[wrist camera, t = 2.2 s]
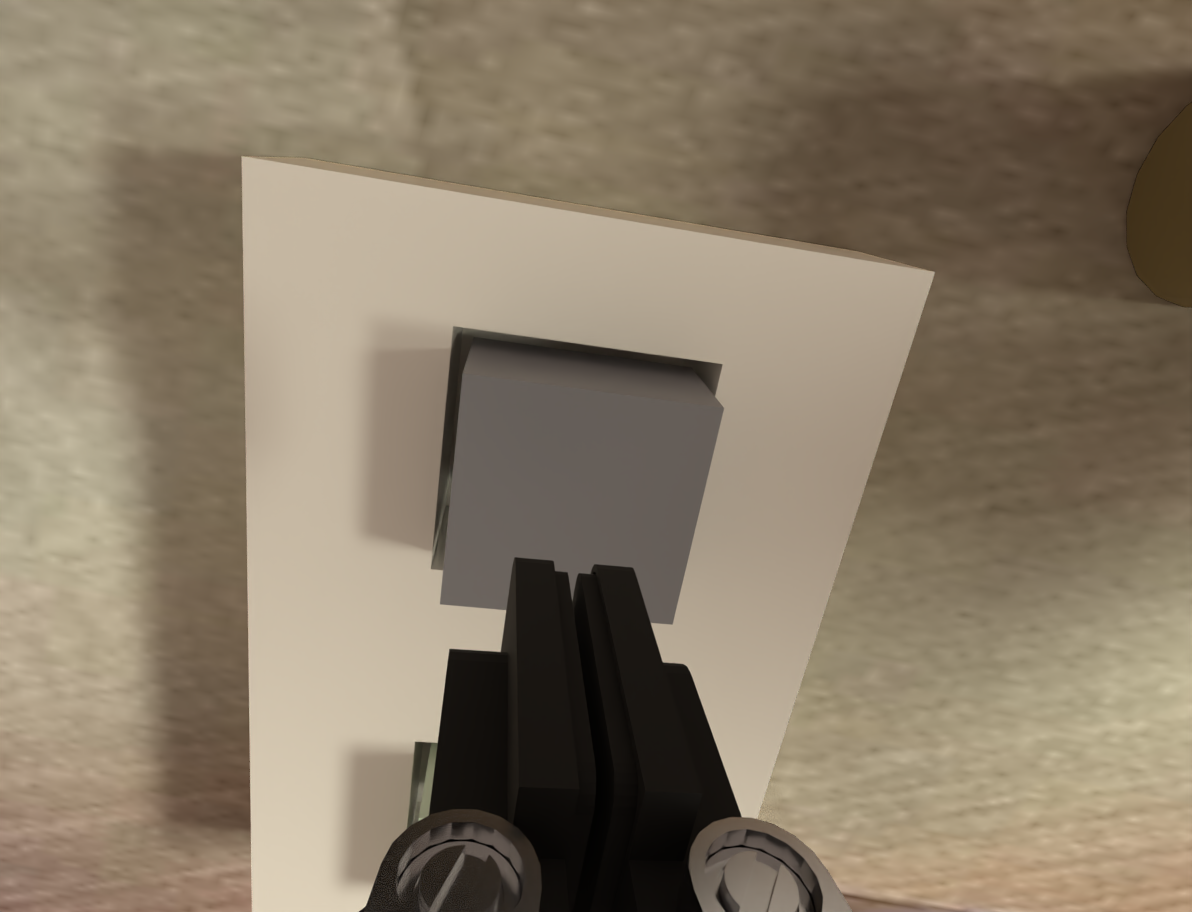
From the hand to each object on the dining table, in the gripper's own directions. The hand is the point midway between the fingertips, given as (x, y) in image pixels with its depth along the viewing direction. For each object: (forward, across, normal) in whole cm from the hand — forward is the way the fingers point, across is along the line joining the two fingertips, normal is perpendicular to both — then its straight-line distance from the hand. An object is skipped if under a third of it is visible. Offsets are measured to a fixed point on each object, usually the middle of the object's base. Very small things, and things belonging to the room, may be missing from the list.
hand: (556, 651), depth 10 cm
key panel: (+10, -1, +5) cm, 12 cm away
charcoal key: (+7, -1, 0) cm, 8 cm away
